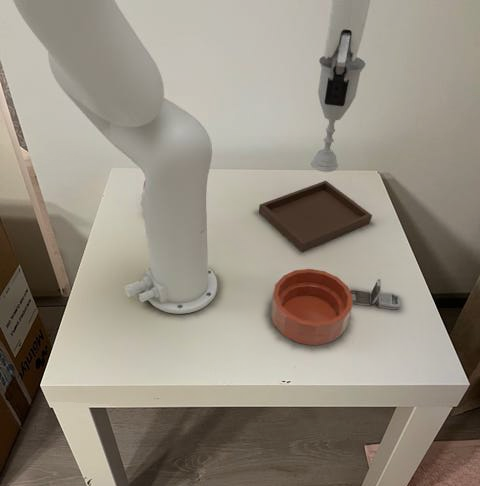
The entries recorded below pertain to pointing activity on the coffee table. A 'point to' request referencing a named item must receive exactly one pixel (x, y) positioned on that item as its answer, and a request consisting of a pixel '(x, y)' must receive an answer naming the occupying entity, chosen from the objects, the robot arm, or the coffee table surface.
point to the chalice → (334, 109)
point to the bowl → (311, 306)
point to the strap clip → (376, 297)
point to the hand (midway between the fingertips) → (336, 94)
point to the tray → (314, 215)
